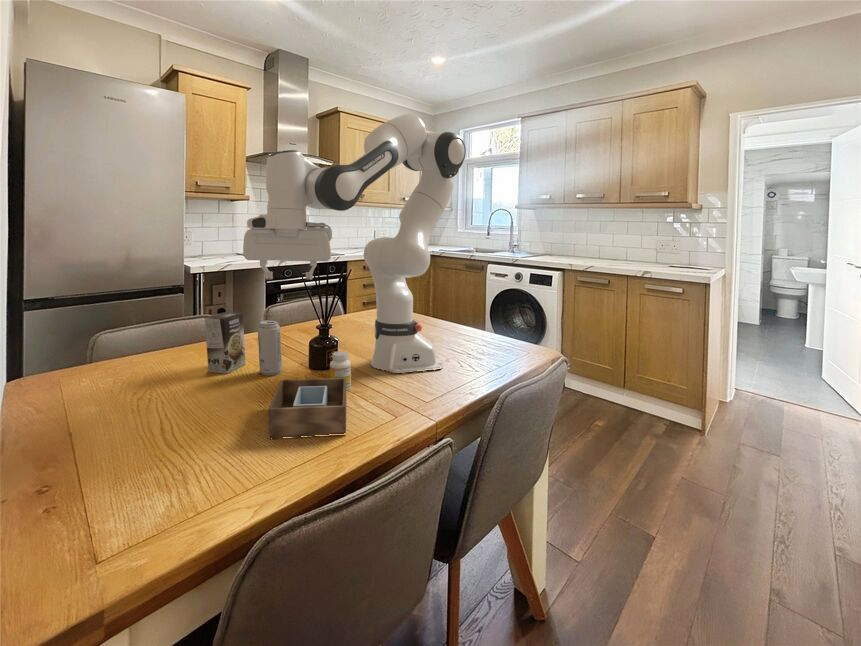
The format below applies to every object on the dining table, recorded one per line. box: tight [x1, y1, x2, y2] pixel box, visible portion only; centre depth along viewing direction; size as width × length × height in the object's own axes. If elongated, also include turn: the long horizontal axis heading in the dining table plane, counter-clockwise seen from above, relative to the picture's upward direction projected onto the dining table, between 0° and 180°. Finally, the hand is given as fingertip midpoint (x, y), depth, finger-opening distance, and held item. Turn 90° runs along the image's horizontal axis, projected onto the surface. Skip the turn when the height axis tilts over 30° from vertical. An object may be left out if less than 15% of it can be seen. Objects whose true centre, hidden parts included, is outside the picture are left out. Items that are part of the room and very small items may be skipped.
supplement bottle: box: [329, 350, 352, 391], centre depth 119 cm, size 5×5×10 cm
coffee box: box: [204, 311, 246, 375], centre depth 131 cm, size 9×6×16 cm
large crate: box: [267, 377, 347, 440], centre depth 100 cm, size 15×17×6 cm
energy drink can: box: [257, 319, 283, 376], centre depth 128 cm, size 6×6×15 cm
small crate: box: [293, 386, 328, 407], centre depth 100 cm, size 6×11×5 cm, turn 10°
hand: (289, 279), depth 110 cm, fingers open, 8 cm apart
